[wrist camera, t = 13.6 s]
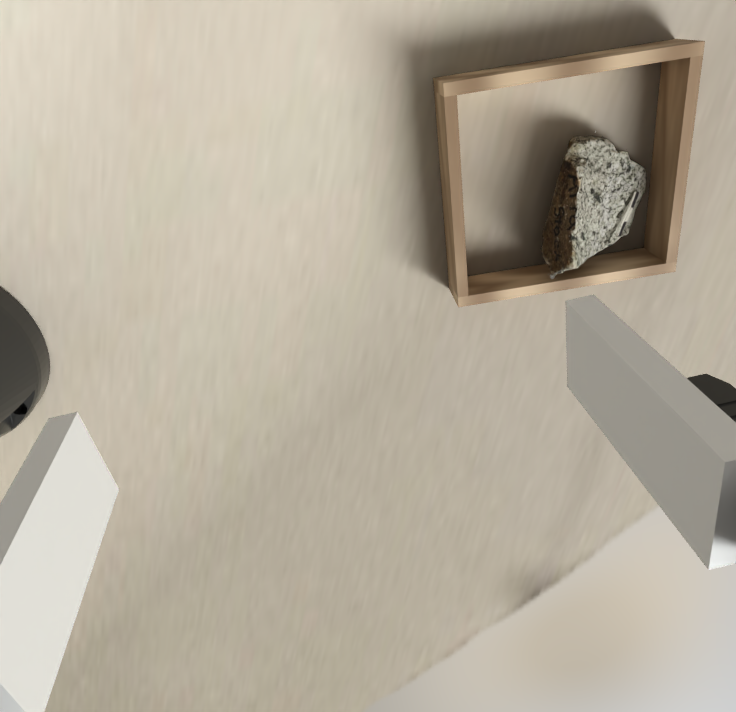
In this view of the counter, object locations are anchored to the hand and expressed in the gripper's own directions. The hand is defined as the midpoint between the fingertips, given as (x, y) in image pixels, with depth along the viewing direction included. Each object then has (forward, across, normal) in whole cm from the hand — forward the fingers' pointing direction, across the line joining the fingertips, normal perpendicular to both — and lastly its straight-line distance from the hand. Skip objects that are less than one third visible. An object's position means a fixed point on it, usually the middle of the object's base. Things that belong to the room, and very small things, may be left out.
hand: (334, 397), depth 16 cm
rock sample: (+30, +20, -7) cm, 37 cm away
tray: (+30, +18, -5) cm, 35 cm away
